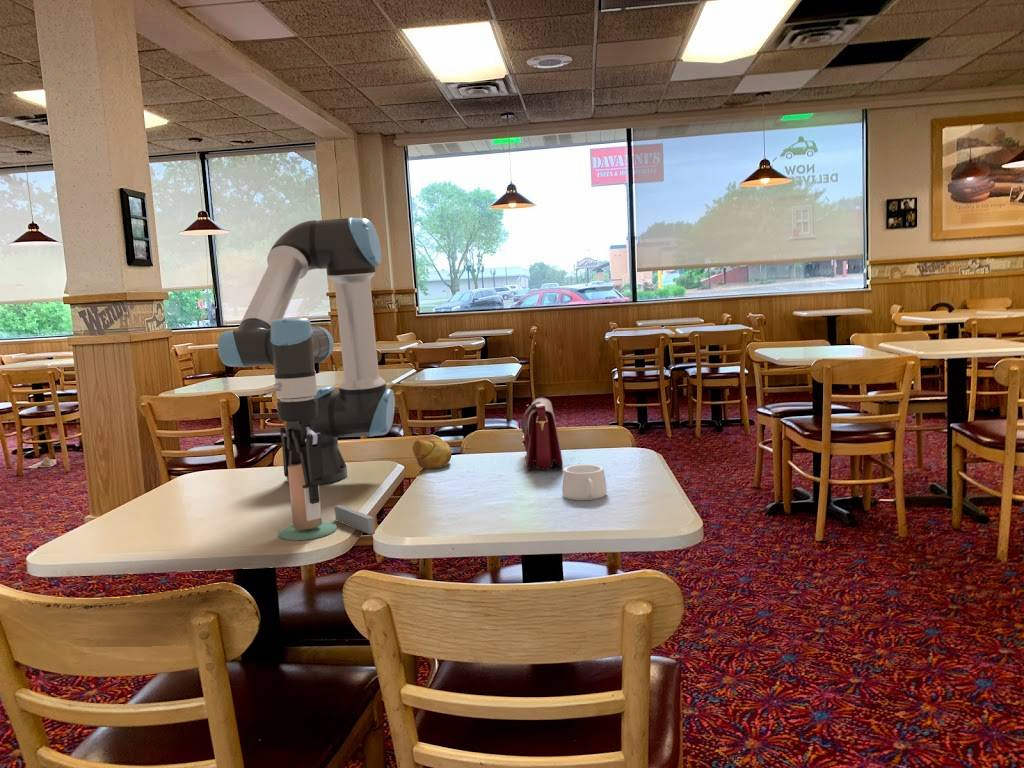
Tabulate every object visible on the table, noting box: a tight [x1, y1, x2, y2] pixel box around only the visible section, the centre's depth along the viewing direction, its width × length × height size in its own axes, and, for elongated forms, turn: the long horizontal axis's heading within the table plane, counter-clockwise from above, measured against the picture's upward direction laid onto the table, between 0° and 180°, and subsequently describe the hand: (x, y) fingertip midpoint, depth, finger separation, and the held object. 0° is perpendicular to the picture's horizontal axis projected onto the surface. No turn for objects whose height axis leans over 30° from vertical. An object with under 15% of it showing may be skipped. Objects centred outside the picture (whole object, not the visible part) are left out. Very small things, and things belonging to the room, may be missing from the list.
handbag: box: [520, 397, 564, 471], centre depth 199 cm, size 28×11×17 cm, turn 178°
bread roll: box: [411, 438, 452, 470], centre depth 203 cm, size 13×10×8 cm
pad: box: [278, 521, 338, 542], centre depth 148 cm, size 11×11×1 cm
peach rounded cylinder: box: [288, 463, 323, 530], centre depth 148 cm, size 6×6×12 cm
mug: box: [561, 463, 608, 501], centre depth 163 cm, size 12×10×6 cm
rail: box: [334, 504, 376, 535], centre depth 150 cm, size 14×1×3 cm, turn 40°
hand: (306, 515), depth 148 cm, fingers closed on peach rounded cylinder, 5 cm apart
